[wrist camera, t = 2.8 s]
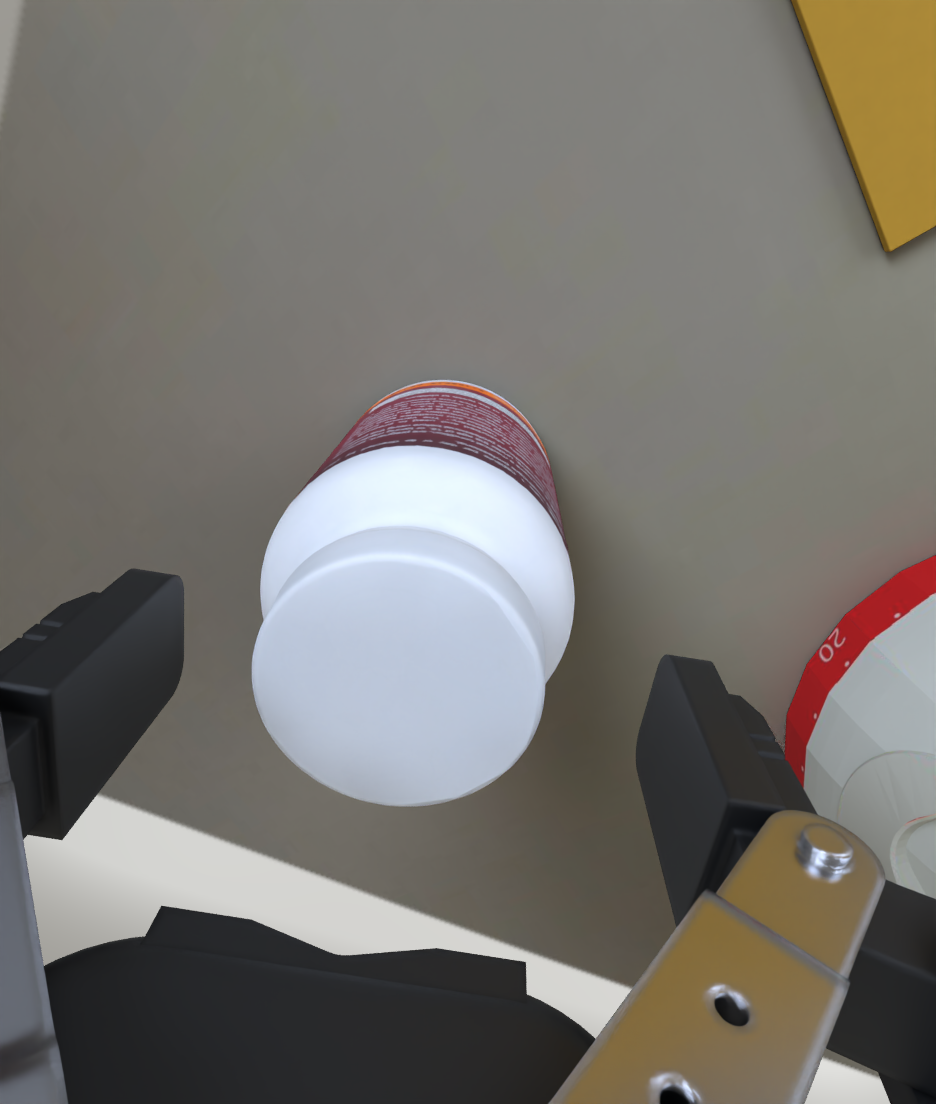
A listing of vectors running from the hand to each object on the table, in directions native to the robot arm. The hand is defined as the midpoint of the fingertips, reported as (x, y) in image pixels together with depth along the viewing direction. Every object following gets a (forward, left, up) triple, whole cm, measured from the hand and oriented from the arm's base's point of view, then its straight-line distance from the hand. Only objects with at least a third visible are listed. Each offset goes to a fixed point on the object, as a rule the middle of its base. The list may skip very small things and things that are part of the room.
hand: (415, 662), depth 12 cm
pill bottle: (0, 0, -10) cm, 10 cm away
